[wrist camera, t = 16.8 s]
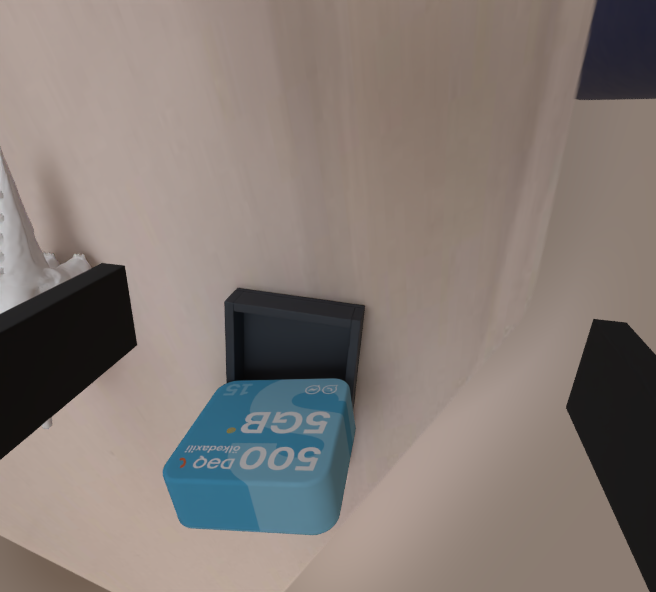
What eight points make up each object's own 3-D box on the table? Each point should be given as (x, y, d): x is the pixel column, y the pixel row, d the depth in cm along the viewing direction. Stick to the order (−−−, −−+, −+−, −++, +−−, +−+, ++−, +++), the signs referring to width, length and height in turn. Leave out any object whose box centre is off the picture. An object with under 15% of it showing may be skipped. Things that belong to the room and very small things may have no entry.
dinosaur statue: (74, 376, 48) (-15, 448, 38) (8, 141, 39) (-135, 154, 29) (132, 381, 47) (55, 457, 37) (78, 140, 38) (-46, 154, 28)
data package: (351, 376, 38) (326, 485, 27) (358, 419, 40) (336, 538, 29) (222, 379, 41) (152, 480, 30) (233, 420, 42) (170, 528, 32)
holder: (365, 305, 39) (361, 321, 36) (347, 460, 46) (343, 483, 43) (237, 287, 40) (224, 301, 38) (239, 439, 48) (228, 461, 45)
